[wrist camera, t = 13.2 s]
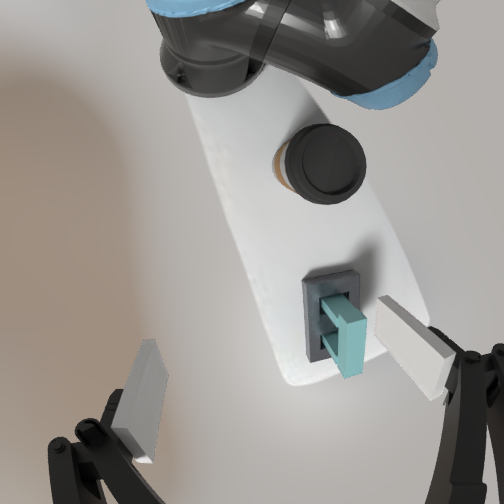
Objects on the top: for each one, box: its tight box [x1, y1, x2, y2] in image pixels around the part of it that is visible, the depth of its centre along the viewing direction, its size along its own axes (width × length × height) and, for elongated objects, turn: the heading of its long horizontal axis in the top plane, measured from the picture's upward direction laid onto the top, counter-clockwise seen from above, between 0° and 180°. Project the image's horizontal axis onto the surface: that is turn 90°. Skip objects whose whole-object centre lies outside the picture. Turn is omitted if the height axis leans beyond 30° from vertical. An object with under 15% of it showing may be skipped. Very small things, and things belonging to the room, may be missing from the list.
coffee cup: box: [272, 124, 366, 205], centre depth 32 cm, size 8×8×15 cm
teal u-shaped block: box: [319, 293, 367, 379], centre depth 41 cm, size 10×4×11 cm, turn 8°
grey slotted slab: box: [302, 270, 360, 363], centre depth 45 cm, size 15×9×2 cm, turn 8°
